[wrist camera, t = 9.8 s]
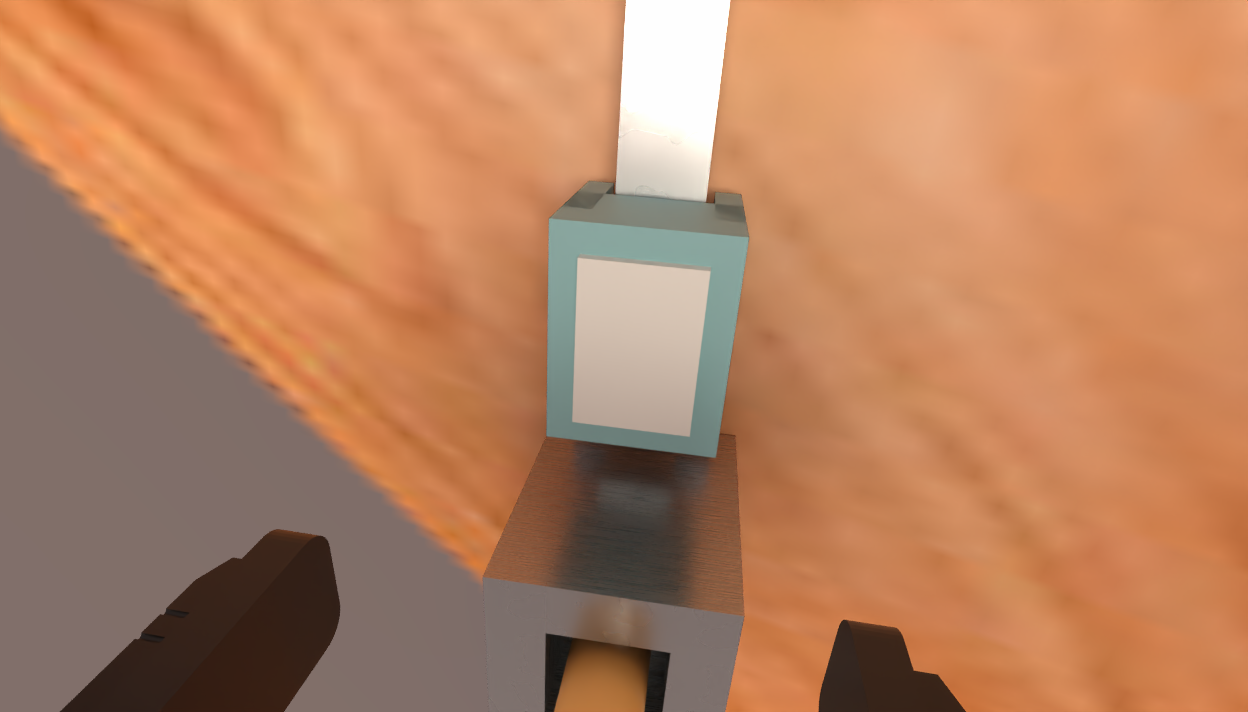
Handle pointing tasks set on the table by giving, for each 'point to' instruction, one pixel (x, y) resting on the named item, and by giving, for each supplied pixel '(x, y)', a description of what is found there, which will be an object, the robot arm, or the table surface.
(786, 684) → the table surface
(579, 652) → the button
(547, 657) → the cabinet
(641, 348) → the carriage
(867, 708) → the robot arm
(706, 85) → the rail
